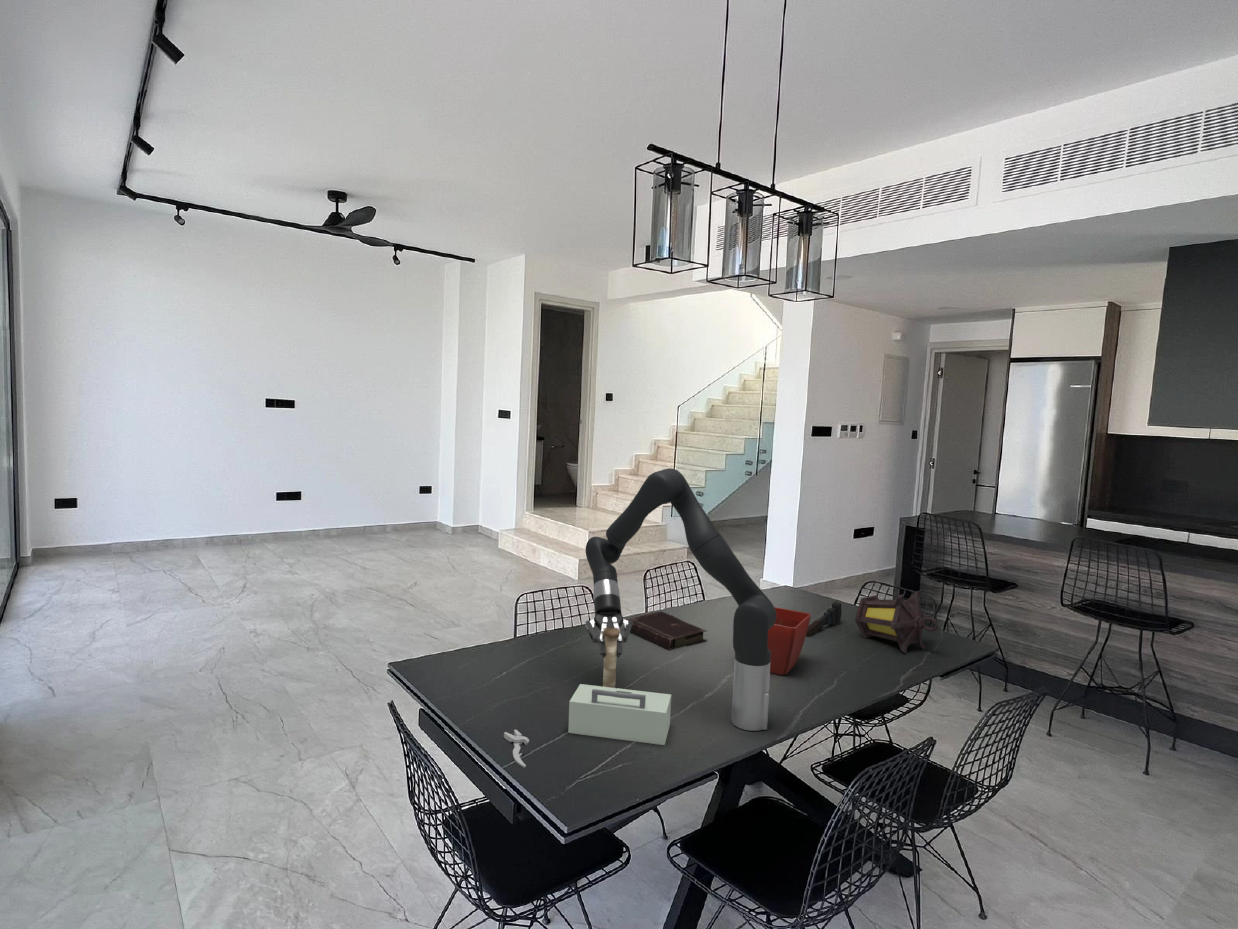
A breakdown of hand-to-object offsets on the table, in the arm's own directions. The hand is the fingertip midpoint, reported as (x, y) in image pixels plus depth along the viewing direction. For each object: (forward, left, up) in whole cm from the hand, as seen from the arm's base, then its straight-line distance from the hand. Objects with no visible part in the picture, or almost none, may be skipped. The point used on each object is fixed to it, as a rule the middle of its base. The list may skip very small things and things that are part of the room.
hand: (611, 655), depth 187 cm
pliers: (+15, +27, -15) cm, 34 cm away
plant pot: (-44, -45, -15) cm, 65 cm away
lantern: (-89, -79, -15) cm, 120 cm away
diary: (-8, -64, -15) cm, 66 cm away
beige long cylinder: (+1, -2, -12) cm, 13 cm away
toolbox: (-5, +13, -15) cm, 20 cm away
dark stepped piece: (-65, -89, -15) cm, 111 cm away
